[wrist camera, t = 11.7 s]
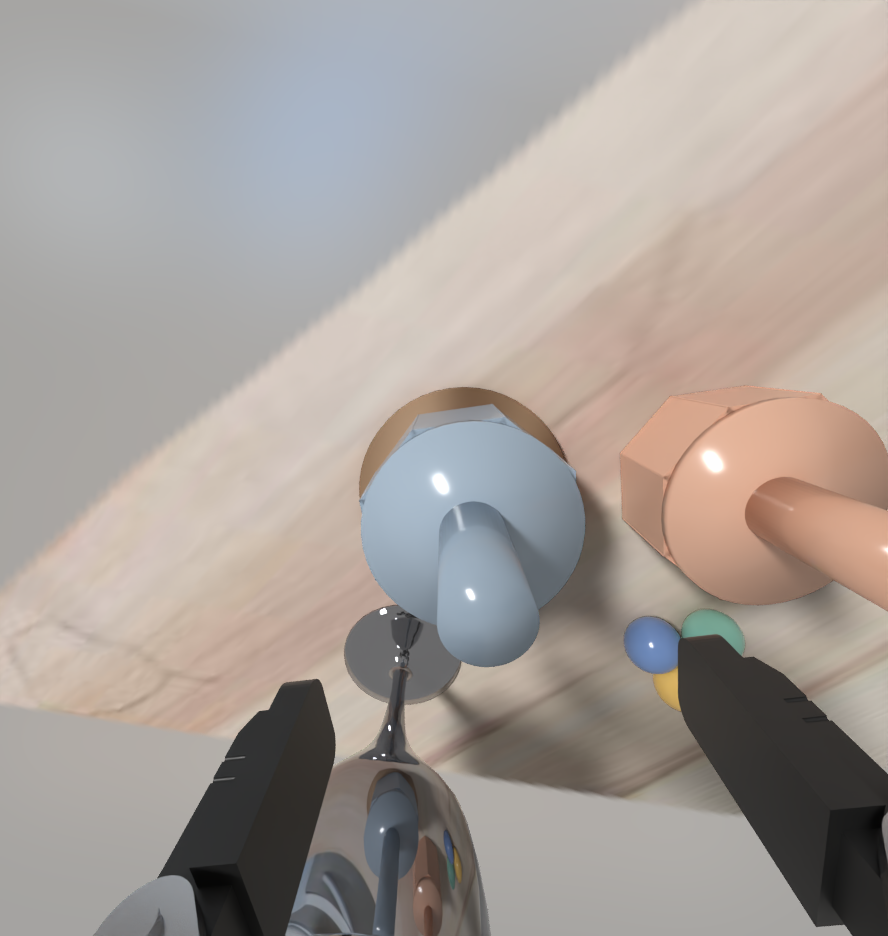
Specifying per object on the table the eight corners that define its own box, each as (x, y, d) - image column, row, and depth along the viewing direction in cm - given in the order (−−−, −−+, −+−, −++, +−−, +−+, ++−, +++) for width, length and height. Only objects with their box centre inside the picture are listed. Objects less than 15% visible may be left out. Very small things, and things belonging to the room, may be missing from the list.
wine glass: (438, 725, 27) (434, 1156, 12) (320, 686, 26) (167, 1099, 12) (488, 624, 25) (552, 997, 11) (362, 579, 24) (242, 915, 10)
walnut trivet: (557, 372, 21) (560, 373, 21) (571, 568, 24) (574, 573, 23) (342, 403, 22) (339, 405, 21) (381, 592, 24) (379, 598, 24)
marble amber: (693, 640, 25) (726, 677, 22) (692, 681, 26) (724, 722, 23) (643, 646, 25) (669, 684, 23) (644, 687, 26) (669, 728, 23)
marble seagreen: (722, 595, 25) (760, 627, 22) (721, 639, 25) (757, 676, 22) (670, 602, 25) (701, 635, 22) (670, 645, 25) (700, 682, 23)
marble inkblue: (665, 602, 25) (695, 635, 22) (666, 646, 25) (694, 683, 23) (614, 609, 25) (636, 642, 22) (616, 652, 26) (638, 690, 23)
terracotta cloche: (799, 375, 21) (1161, 398, 11) (786, 541, 24) (1071, 697, 13) (616, 401, 22) (788, 448, 11) (622, 563, 24) (767, 731, 13)
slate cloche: (546, 394, 21) (656, 436, 10) (559, 560, 23) (659, 737, 13) (364, 420, 21) (283, 487, 10) (395, 582, 24) (355, 772, 13)
